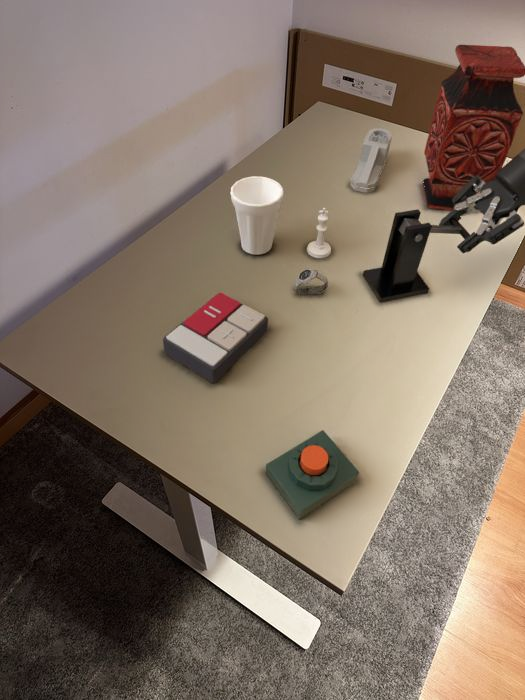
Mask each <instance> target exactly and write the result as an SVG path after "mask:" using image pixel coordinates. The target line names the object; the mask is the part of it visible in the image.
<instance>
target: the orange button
mask: <svg viewBox="0 0 525 700" xmlns="http://www.w3.org/2000/svg"><path fill="white" fill-rule="evenodd" d="M327 464H328V454H327V452H326V451H325V450H324V449H323V448H322V447H320V446H316V445H311V446H308V447H306V448H305V449H304V450H303V451H302V454H301V459H300V465H301V468H302V469H303V471H304V472H305V473H307V474H309V475H313V476H316V475H320V474H322V473H323V472H324V471H325V470H326V468H327Z"/></svg>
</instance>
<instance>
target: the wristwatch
mask: <svg viewBox="0 0 525 700" xmlns="http://www.w3.org/2000/svg"><path fill="white" fill-rule="evenodd" d="M314 279H318V280H319V281H321V282H323V283H324V284H322V285H318V286H311V287H310V286H307V287H305V288H303V287H299V286H300V285H308V284H309V283H310V282H312V281H313V280H314ZM328 288H329V280H328V277H326V276H325V275H322V273H320V272H319V271H318V270H317V269H315V268H306V269H304V270H302V271H300V273H299V274H298V275H297V278H296V280H295V283H294V289H295V291H296V293H297V294H299V295H300V296H301V295H302V296H303V295H309V296H311V295H312V296H314V295H321V294H323V293H324V292H326V290H327V289H328Z"/></svg>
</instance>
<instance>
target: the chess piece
mask: <svg viewBox="0 0 525 700" xmlns="http://www.w3.org/2000/svg"><path fill="white" fill-rule="evenodd" d="M318 214H319V215H317V220H318V224H317V225H316V227H315V229H316V230H317V232H318V233H317V237H316V240H313V241H311V242H309V243H308V245H307V247H306V253H307V254H308V255H309V256H310V257H312V258H316V259H323V258H327V257H329V256H330V255H331V253H332V247H331V245H330V244H329V243H328V242H326V241H325V232H326V231H327V230H328V226H327V223H328V220H329V216H328V215H329V210H326V207H322V210H319V211H318Z"/></svg>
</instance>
